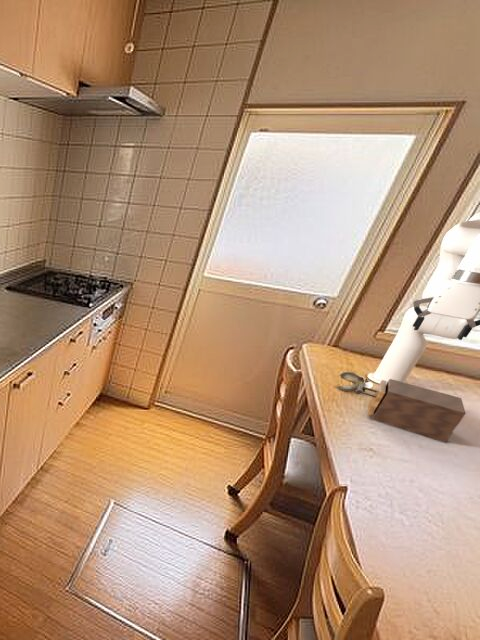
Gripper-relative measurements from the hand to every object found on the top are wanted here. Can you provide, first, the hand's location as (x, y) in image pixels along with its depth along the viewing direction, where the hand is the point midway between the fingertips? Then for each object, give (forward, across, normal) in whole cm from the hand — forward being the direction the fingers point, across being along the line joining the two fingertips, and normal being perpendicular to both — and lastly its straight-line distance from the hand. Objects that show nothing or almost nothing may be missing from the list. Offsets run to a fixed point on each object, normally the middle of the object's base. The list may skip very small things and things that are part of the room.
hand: (436, 334), depth 128 cm
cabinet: (+31, -6, -5) cm, 32 cm away
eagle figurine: (+31, +10, -22) cm, 40 cm away
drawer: (+30, -1, -5) cm, 31 cm away
